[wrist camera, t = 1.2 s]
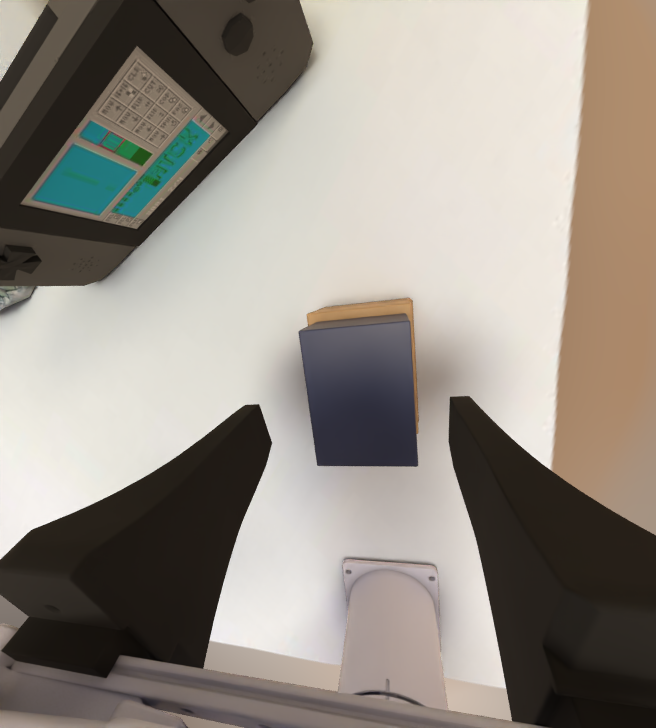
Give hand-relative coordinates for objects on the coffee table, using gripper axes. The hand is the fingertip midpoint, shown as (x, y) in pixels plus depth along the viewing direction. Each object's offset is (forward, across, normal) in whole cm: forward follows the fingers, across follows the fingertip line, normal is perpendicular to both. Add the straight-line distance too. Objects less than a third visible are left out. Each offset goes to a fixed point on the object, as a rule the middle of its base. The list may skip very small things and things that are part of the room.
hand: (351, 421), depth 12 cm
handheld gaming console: (+15, +12, -10) cm, 22 cm away
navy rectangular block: (+6, 0, +2) cm, 6 cm away
